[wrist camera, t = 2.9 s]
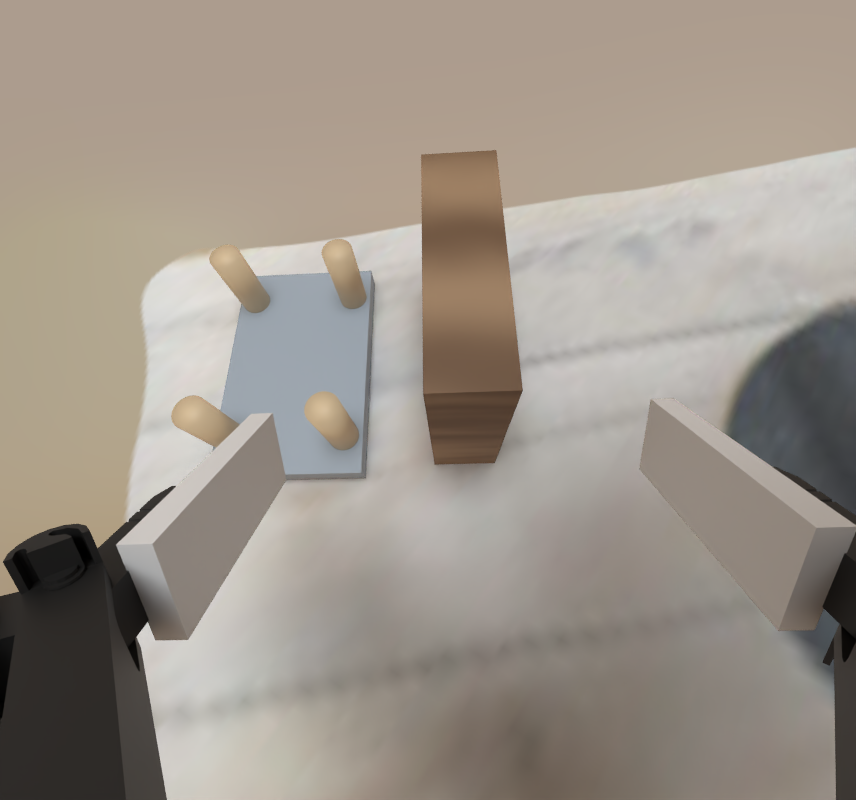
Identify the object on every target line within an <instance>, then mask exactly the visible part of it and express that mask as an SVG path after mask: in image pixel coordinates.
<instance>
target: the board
mask: <svg viewBox="0 0 856 800" xmlns="http://www.w3.org/2000/svg"><path fill="white" fill-rule="evenodd" d="M421 168H422V169H421V174H422V295H423V395H424V401H425V407H426V413H427V419H428V426H429V432H430V438H431V444H432V450H433V456H434V463H435V464H470V463H495V460H496V458H497V455H498V453H499V450H500V448H501V445H502V442H503V440H504V437H505V435H506V432H507V429H508V427H509V424H510V422H511V419H512V417H513V414H514V411H515V409H516V406H517V404H518V401H519V399H520V396H521V393H522V391H523V389H522V380H521V371H520V362H519V353H518V344H517V335H516V326H515V316H514V307H513V298H512V289H511V280H510V271H509V262H508V253H507V244H506V234H505V225H504V216H503V207H502V198H501V189H500V180H499V171H498V162H497V153H496V150H493V151H476V152H460V153H442V154H425V155H421Z"/></svg>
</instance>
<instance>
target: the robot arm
mask: <svg viewBox="0 0 856 800" xmlns="http://www.w3.org/2000/svg"><path fill="white" fill-rule="evenodd" d="M639 469H640V470H641V471H642V473H643V474H644V475H645V476H646V477H647V478H648V480H649V481H650V482H651V483H652V484H653V485H654V487H655V488H656V489H657V490H658V491H659V492H660V494H661V495H662V496H663V497H664V498H665V499H666V501H667V502H668V503H669V504H670V505H671V506H672V508H673V509H674V510H675V511H676V512H677V513H678V515H679V516H680V517H681V518H682V519H683V520H684V522H685V523H686V524H687V525H688V526H689V527H690V529H691V530H692V531H693V532H694V533H695V534H696V536H697V537H698V538H699V539H700V540H701V541H702V543H703V544H704V545H705V546H706V547H707V548H708V549H709V551H710V552H711V553H712V554H713V555H714V556H715V558H716V559H717V560H718V561H719V562H720V563H721V565H722V566H723V567H724V568H725V569H726V570H727V572H728V573H729V574H730V575H731V576H732V577H733V579H734V580H735V581H736V582H737V583H738V584H739V586H740V587H741V588H742V589H743V590H744V591H745V593H746V594H747V595H748V596H749V597H750V598H751V600H752V601H753V602H754V603H755V604H756V605H757V607H758V608H759V609H760V610H761V611H762V612H763V614H764V615H765V616H766V617H767V618H768V619H769V621H770V622H771V623H772V624H773V625H774V626H775V628H776V629H777V630H778V631H788V630H815V628H816V626H817V623H818V621H819V618H820V616H821V614H822V611H823V609H825V610H826V611H827V612H828V613H829V614H830V615H831V616H832V617H833V618H834V619H835V620H836V621H837V622H838V623H839V626H838V629H837V631H836V633H835V635H834V638H833V640H832V642H831V644H830V647H829V649H828V651H827V653H826V656H825V658H824V660H823V663H825V664H827V665H829V666H830V664H831V662H832V660H833V659H834V686H835V754H836V800H856V516H855V515H854V514H852V513H851V512H849V511H848V510H847V509H845V508H844V507H842V506H841V505H839V504H838V503H836V502H832V501H831V499H830V498H829V497H827V496H826V495H824V494H823V493H821V492H817V491H816V489H815V488H814V487H812V486H811V485H809V484H808V483H806V482H805V481H804V480H802V479H801V478H799V477H797V476H795V475H793V474H790V473H788V472H786V471H783V470H781V469H779V468H777V467H772V466H770V465H769V464H767V463H766V462H764V461H763V460H762V459H760V458H759V457H757V456H756V455H754V454H753V453H751V452H750V451H749V450H747V449H746V448H744V447H743V446H741V445H740V444H739V443H737V442H736V441H734V440H733V439H731V438H730V437H729V436H727V435H726V434H724V433H723V432H721V431H720V430H718V429H717V428H716V427H714V426H713V425H711V424H710V423H708V422H707V421H706V420H704V419H703V418H701V417H700V416H698V415H697V414H696V413H694V412H693V411H691V410H690V409H688V408H687V407H685V406H684V405H683V404H681V403H680V402H678V401H677V400H675V399H674V398H670V399H651V402H650V408H649V414H648V420H647V426H646V432H645V438H644V444H643V450H642V456H641V462H640V468H639ZM285 481H286V475H285V471H284V466H283V461H282V456H281V451H280V446H279V442H278V437H277V432H276V427H275V422H274V417H273V413H258V414H251V415H249V416H248V417H247V418H246V419H245V420H244V421H243V422H242V423H241V424H240V425H239V426H238V427H237V428H236V429H235V430H234V431H233V432H232V433H231V434H230V435H229V436H228V437H227V438H226V439H225V440H224V441H223V442H222V443H221V444H220V445H219V446H217V447H216V448H215V449H214V450H213V451H212V452H211V453H210V454H209V455H208V456H207V457H206V458H205V459H204V460H203V461H202V462H201V463H200V464H199V465H198V466H197V467H196V468H195V469H194V470H193V471H192V472H191V473H190V474H189V475H188V476H187V477H185V478H184V479H183V480H182V481H181V482H180V483H179V484H178V485H177V486H171V487H169V488H168V489H166V490H164V491H163V492H161V493H159V494H158V495H156V496H154V497H153V498H152V499H151V500H150V501H148V502H147V503H146V504H145V505H144V506H143V507H142V508H141V509H140V512H137V513H135V514H134V515H133V516H132V517H131V518H130V519H129V522H126V523H125V524H124V525H123V526H122V527H120V528H119V529H118V530H117V531H116V532H115V533H114V534H113V535H112V536H111V537H110V538H109V539H108V540H107V541H105V542H104V543H103V544H102V545H101V546H100V547H99V548H98V549H97V547H96V545H95V542H94V540H93V537H92V535H91V533H90V531H89V529H88V528H87V526H85V525H80V524H71V525H63V526H60V527H56V528H53V529H49V530H47V531H44V532H42V533H39V534H37V535H35V536H33V537H31V538H29V539H27V540H26V541H24V542H23V543H21V544H19V545H18V546H16V547H15V548H14V549H13V550H12V551H10V553H8V554H7V556H6V558H5V560H4V561H3V563H4V565H5V567H6V568H7V570H8V572H9V574H10V576H11V577H12V579H13V581H14V583H15V585H16V586H17V588H18V590H19V592H16V593H12V594H8V595H4V596H0V800H167V798H166V792H165V786H164V780H163V775H162V769H161V763H160V757H159V751H158V745H157V739H156V734H155V728H154V722H153V716H152V710H151V704H150V699H149V693H148V687H147V681H146V675H145V669H144V663H143V658H142V652H141V647H140V645H139V642H138V640H137V638H136V637H137V635H138V634H139V633H140V631H141V630H142V629H143V627H144V626H145V625H146V623H147V622H148V623H149V626H150V628H151V631H152V633H153V635H154V638H155V640H188V639H189V637H190V636H191V634H192V633H193V631H194V629H195V628H196V626H197V624H198V623H199V621H200V620H201V618H202V616H203V615H204V613H205V611H206V610H207V608H208V606H209V605H210V603H211V602H212V600H213V598H214V597H215V595H216V593H217V592H218V590H219V589H220V587H221V585H222V584H223V582H224V580H225V579H226V577H227V576H228V574H229V572H230V571H231V569H232V567H233V566H234V564H235V562H236V561H237V559H238V558H239V556H240V554H241V553H242V551H243V549H244V548H245V546H246V545H247V543H248V541H249V540H250V538H251V536H252V535H253V533H254V532H255V530H256V528H257V527H258V525H259V523H260V522H261V520H262V518H263V517H264V515H265V514H266V512H267V510H268V509H269V507H270V505H271V504H272V502H273V501H274V499H275V497H276V496H277V494H278V492H279V491H280V489H281V488H282V486H283V484H284V483H285Z"/></svg>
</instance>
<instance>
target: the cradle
mask: <svg viewBox="0 0 856 800" xmlns="http://www.w3.org/2000/svg"><path fill="white" fill-rule="evenodd" d="M322 257H323V259H324V262H325V264H326V266H327V269H328V271H329V273H317V274H295V275H273V276H256V275H255V274H254V272H253V271H252V269H251V268H250V266H249V265H248V263H247V262H246V260H245V259H244V257H243V256H242V254H241V253H240V251H239V250H238V248H237V247H235V246H233V245H223V246H220V247H218V248H216V249H215V250H214V251H213V252H212V253H211V255H210V263H211V265H212V266H213V267H214V269H215V270H216V271H217V273H218V274H219V275H220V276H221V278H222V279H223V280H224V282H225V283H226V284H227V285H228V287H229V288H230V289H231V290H232V292H233V293H234V294H235V296H236V297H237V298H238V299H239V301H240V302H241V308H240V313H239V318H238V324H237V329H236V334H235V339H234V344H233V349H232V354H231V359H230V365H229V370H228V375H227V380H226V385H225V390H224V395H223V400H222V406H221V411H220V410H218V409H217V408H216V407H214V406H213V405H211V404H210V403H208V402H207V401H206V400H204V399H203V398H201V397H199V396H188V397H185V398H183V399H182V400H180V401H179V402H178V403H177V404H176V405H175V407H174V408H173V411H172V416H171V417H172V422H173V423H174V425H175V426H176V427H178V428H180V429H182V430H184V431H186V432H187V433H189V434H191V435H193V436H195V437H197V438H199V439H201V440H203V441H205V442H206V443H208V444H210V445H212V446H214V447H213V450H214V449H215V448H216V447H217V446H219V445H220V444H221V443H222V442H223V441H224V440H225V439H226V438H227V437H228V436H229V435H230V434H231V433H232V432H233V431H234V430H235V429H236V428H237V427H238V426H239V425H240V424H241V423H242V422H243V421H244V420H245V419H246V418H247V417H248V416H249V415H251V414H258V413H273V417H274V422H275V427H276V432H277V437H278V442H279V446H280V451H281V456H282V461H283V466H284V471H285V475H286V480H287V479H330V478H365V477H366V456H367V434H368V413H369V391H370V370H371V348H372V327H373V306H374V284H375V283H374V279H373V276H372V272H371V271H361V272H359V269H358V266H357V263H356V259H355V256H354V253H353V250H352V246H351V244H350V243H349V242H347V241H346V240H342V239H336V240H332V241H330V242H328V243H327V244H326V245H325V246H324V247H323V249H322Z"/></svg>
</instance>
